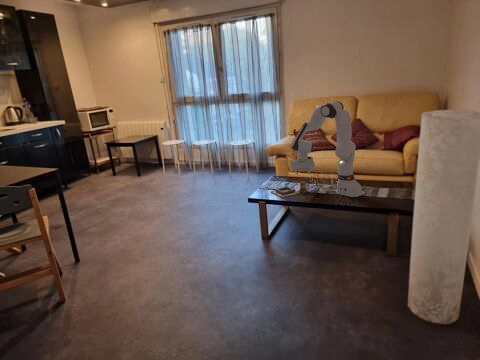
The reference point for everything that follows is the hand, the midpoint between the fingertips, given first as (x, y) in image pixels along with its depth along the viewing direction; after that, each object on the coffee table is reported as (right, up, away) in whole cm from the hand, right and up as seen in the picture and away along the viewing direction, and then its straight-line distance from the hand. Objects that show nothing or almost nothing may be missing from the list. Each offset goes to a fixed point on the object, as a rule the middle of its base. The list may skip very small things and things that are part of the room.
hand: (302, 173), depth 279 cm
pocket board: (-15, -16, -6) cm, 23 cm away
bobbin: (-1, -15, -5) cm, 16 cm away
